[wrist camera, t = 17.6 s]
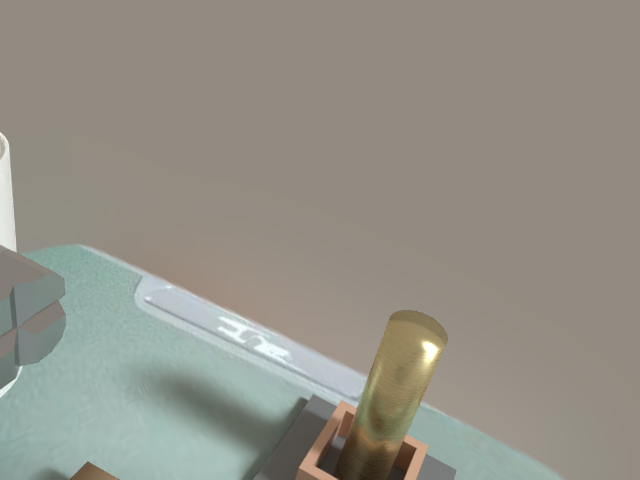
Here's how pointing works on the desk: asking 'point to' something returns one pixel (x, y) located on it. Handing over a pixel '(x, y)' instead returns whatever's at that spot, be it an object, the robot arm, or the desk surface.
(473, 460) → the desk surface
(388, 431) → the axle
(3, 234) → the canister
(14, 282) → the robot arm
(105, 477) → the wooden block with recess
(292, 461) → the stand
